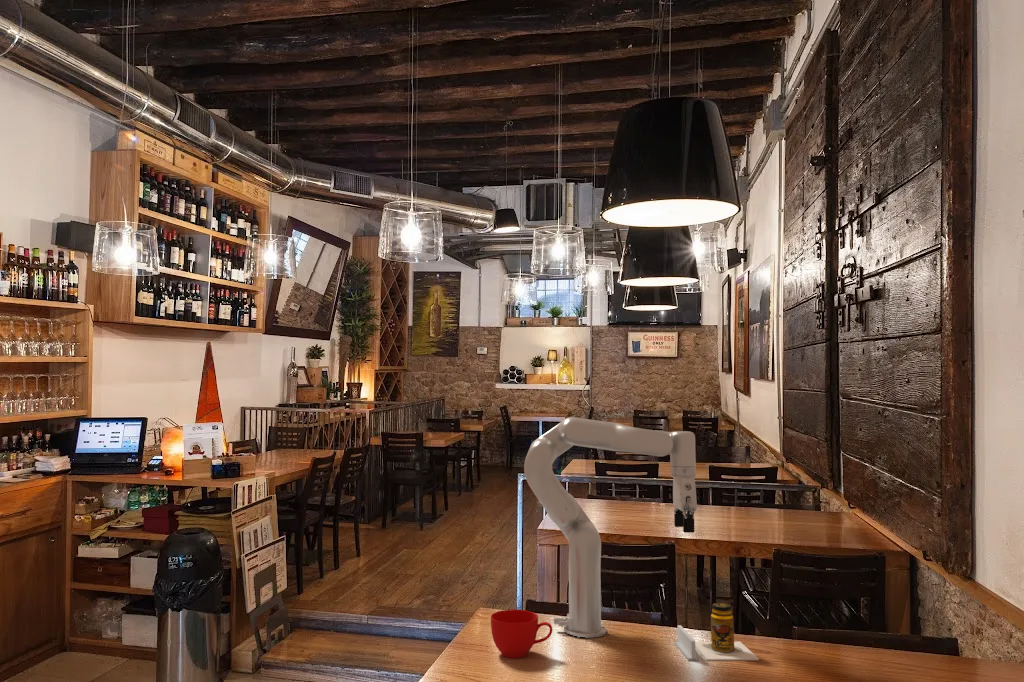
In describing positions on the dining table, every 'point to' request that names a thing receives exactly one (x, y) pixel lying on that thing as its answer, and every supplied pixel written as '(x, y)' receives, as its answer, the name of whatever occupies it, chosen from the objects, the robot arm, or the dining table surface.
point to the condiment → (722, 629)
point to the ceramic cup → (516, 632)
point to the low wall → (686, 644)
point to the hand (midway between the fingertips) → (684, 529)
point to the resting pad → (712, 656)
